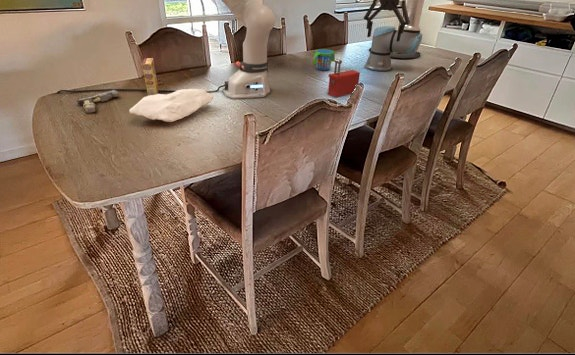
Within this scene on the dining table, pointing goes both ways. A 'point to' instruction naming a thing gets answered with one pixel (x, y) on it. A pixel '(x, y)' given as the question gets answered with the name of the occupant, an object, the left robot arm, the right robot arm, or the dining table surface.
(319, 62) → the snack cup
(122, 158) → the dining table surface
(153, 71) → the candy box
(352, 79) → the chest
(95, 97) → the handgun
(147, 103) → the crumpled cloth
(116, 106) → the dining table surface
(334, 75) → the lid
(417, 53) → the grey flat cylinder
